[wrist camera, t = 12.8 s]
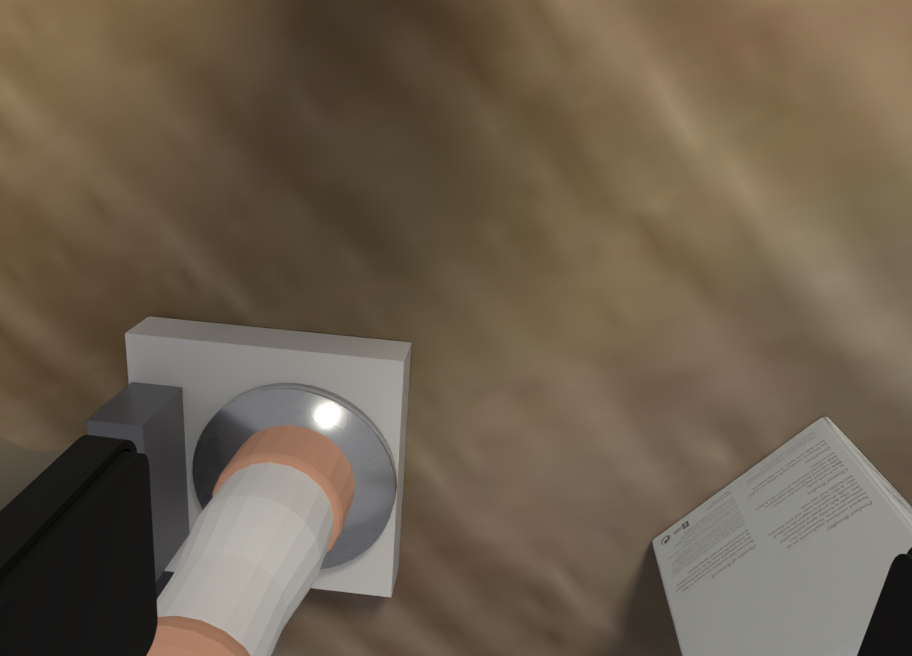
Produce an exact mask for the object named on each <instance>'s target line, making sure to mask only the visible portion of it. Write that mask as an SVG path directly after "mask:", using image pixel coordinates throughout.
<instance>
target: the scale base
mask: <svg viewBox="0 0 912 656" xmlns="http://www.w3.org/2000/svg"><path fill="white" fill-rule="evenodd" d="M125 341H126V354H127V368H128V381H129V385H128V386H126V387H125V388H124V389H123V390H122V391H121V392H119V393H118V394H117V395H116V396H115V397H113V398H112V399H111V400H110V401H109V402H107V403H106V404H105V405H104V406H103V407H101V408H100V409H99V410H98V411H97V412H96V413H94V414H93V415H92V416H91V417H90V418H88V419H87V420H86V422H87V433H88V435H95V436H103V437H110V438H118V439H126V440H131V441H132V442H133V443H134V444H135V446H136V448H137V453H144V454H145V455H146V456H147V458H148V461H149V471H150V489H151V507H152V525H153V542H154V560H155V578H156V581H157V580H158V579H159V577H160V575H161V574H162V573H163V571H171V572H175V570H176V567H177V565H178V562H179V560H180V557H181V555H182V553H183V550H184V548H185V545H186V543H187V540H188V538H189V535H190V533H191V531H192V529H193V526H194V524H195V522H196V520H197V518H198V516H199V515H200V513H201V512H202V511H203V509H202V508H201V505H200V503H199V500H198V498H197V495H196V491H195V487H194V482H193V474H192V470H193V457H194V451H195V448H196V445H197V442H198V439H199V437H200V435H201V433H202V432H203V430H204V428H205V427H206V425H207V424H208V423H209V421H210V420H211V419H212V418H213V416H214V415H215V414H216V413H217V412H218V411H219V410H220V409H221V408H222V407H223V406H224V405H225V404H226V403H227V402H229V401H230V400H232V399H233V398H234V397H236V396H238V395H240V394H241V393H243V392H245V391H247V390H250V389H253V388H256V387H259V386H263V385H268V384H275V383H299V384H305V385H311V386H315V387H318V388H322V389H325V390H327V391H330V392H332V393H335V394H337V395H339V396H341V397H342V398H344V399H346V400H348V401H350V402H351V403H352V404H354V405H355V406H356V407H358V408H359V409H360V410H362V411H363V412H364V413H365V414H366V415H367V416H368V417H369V418H370V419H371V420H372V421H373V422H374V424H375V425H376V426H377V427H378V428H379V430H380V431H381V433H382V434H383V436H384V438H385V439H386V441H387V443H388V445H389V447H390V449H391V452H392V455H393V458H394V461H395V466H396V472H397V492H396V499H395V502H394V506H393V509H392V512H391V516H390V519H389V521H388V523H387V525H386V527H385V529H384V531H383V532H382V534H381V535H380V537H379V538H378V539H377V540H376V541H375V542H374V544H373V545H372V546H371V547H370V548H368V549H367V550H366V551H365V552H363V553H362V554H361V555H359V556H357V557H356V558H354V559H352V560H350V561H348V562H346V563H344V564H341V565H338V566H335V567H331V568H326V569H320V571H319V574H318V576H317V577H316V579H315V581H314V583H313V585H312V586H311V588H315V589H323V590H332V591H340V592H349V593H357V594H366V595H374V596H383V597H391V596H392V592H393V588H394V584H395V580H396V576H397V572H398V568H399V551H400V533H401V516H402V499H403V482H404V464H405V447H406V430H407V412H408V395H409V378H410V361H411V343H412V342H402V341H392V340H382V339H372V338H362V337H352V336H341V335H331V334H321V333H311V332H301V331H291V330H281V329H271V328H261V327H251V326H241V325H231V324H221V323H211V322H201V321H191V320H180V319H170V318H160V317H150V316H149V317H147V318H146V319H144V320H143V321H142V322H140V323H139V324H137V325H136V326H134V327H133V328H132V329H130V330H129V331H127V332H126V333H125Z"/></svg>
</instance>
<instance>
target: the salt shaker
mask: <svg viewBox="0 0 912 656" xmlns="http://www.w3.org/2000/svg"><path fill="white" fill-rule="evenodd" d="M354 491H355V480H354V476H353V471H352V467H351V465H350V463H349V462H348V460H347V458H346V457H345V455H344V453H343V452H342V450H341V449H340V448H338V447H337V446H336V445H335V444H334V443H333V442H332V441H331V440H330V439H328V438H327V437H325V436H323V435H321V434H319V433H317V432H315V431H313V430H311V429H309V428H304V427H299V426H293V425H282V426H273V427H268V428H266V429H264V430H262V431H259V432H257V433H255V434H253V435H252V436H251V437H250V438H249V439H248V440H247V441H246V442H245V443H244V444H243V445H242V446H241V447H240V448H239V450H238V451H237V452H236V454H235V455H234V456H233V458H232V459H231V461H230V462H229V463H228V465H227V466H226V468H225V469H224V470H223V472H222V473H221V475H220V476H219V479H218V481H217V483H216V485H215V487H214V489H213V494H212V499H211V500H210V502H209V503H208V504H207V506H206V507H205V508H204V510H203V511H202V512H201V513H200V515H199V516H198V518H197V520H196V522H195V524H194V526H193V529H192V531H191V533H190V535H189V538H188V540H187V543H186V545H185V548H184V550H183V553H182V555H181V557H180V560H179V562H178V565H177V567H176V570H175V572H174V575H173V576H172V578H171V579H170V581H169V582H168V584H167V585H166V587H165V588H164V590H163V591H162V593H161V594H160V596H159V597H158V599H157V614H158V624H157V630H156V634H155V638H154V641H153V644H152V646H151V648H150V650H149V652H148V654H147V655H146V656H271V655H272V652H273V650H274V648H275V645H276V643H277V641H278V638H279V636H280V634H281V632H282V629H283V628H284V626H285V625H286V624H287V622H288V621H289V619H290V618H291V616H292V615H293V613H294V612H295V610H296V609H297V607H298V606H299V605H300V603H301V602H302V600H303V599H304V597H305V596H306V594H307V593H308V591H309V590H310V588H311V586H312V585H313V583H314V581H315V579H316V577H317V576H318V574H319V571H320V568H321V565H322V562H323V559H324V556H325V554H326V553H328V552H329V551H330V550H331V549H332V548H333V546H334V544H335V543H336V541H337V539H338V537H339V535H340V534H341V531H342V529H343V526H344V523H345V521H346V518H347V515H348V513H349V510H350V508H351V505H352V502H353V498H354Z"/></svg>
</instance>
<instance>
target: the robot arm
mask: <svg viewBox="0 0 912 656" xmlns="http://www.w3.org/2000/svg"><path fill="white" fill-rule="evenodd" d="M157 624H158V614H157V597H156V578H155V560H154V542H153V525H152V507H151V489H150V471H149V461H148V458H147V456H146V455H145V454H144V453H137V448H136V446H135V444H134V443H133V442H132V441H131V440H126V439H118V438H110V437H103V436H95V435H84V436H82V437H81V438H79V439H78V440H77V441H76V442H75V443H73V444H72V445H71V446H70V447H69V448H68V449H67V450H66V451H65V452H64V453H63V454H62V455H61V456H60V457H58V458H57V459H56V460H55V461H54V462H53V463H52V464H51V465H50V466H49V467H48V468H47V469H46V470H44V471H43V472H42V473H41V474H40V475H39V476H38V477H37V478H36V479H35V480H34V481H33V482H32V483H31V484H29V485H28V486H27V487H26V488H25V489H24V490H23V491H22V492H21V493H20V494H19V495H18V496H16V497H15V498H14V499H13V500H12V501H11V502H10V503H9V504H8V505H7V506H6V507H5V508H4V509H2V510H1V511H0V656H146V655H147V654H148V652H149V650H150V648H151V646H152V644H153V641H154V638H155V634H156V630H157ZM857 656H912V547H911V548H910V549H909V550H908V552H907V554H899V555H897V556H896V557H895V558H894V560H893V562H892V564H891V566H890V569H889V571H888V574H887V577H886V579H885V582H884V585H883V587H882V590H881V593H880V595H879V598H878V601H877V603H876V606H875V609H874V612H873V614H872V617H871V620H870V622H869V625H868V628H867V630H866V633H865V636H864V638H863V641H862V644H861V646H860V649H859V652H858V654H857Z"/></svg>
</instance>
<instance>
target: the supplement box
mask: <svg viewBox="0 0 912 656" xmlns="http://www.w3.org/2000/svg"><path fill="white" fill-rule="evenodd" d="M652 544H653V549H654V552H655V556H656V560H657V564H658V567H659V571H660V574H661V578H662V582H663V586H664V590H665V594H666V598H667V601H668V605H669V609H670V612H671V616H672V620H673V623H674V627H675V631H676V635H677V639H678V642H679V646H680V650H681V654H682V656H857V654H858V652H859V649H860V646H861V644H862V641H863V638H864V636H865V633H866V630H867V628H868V625H869V622H870V620H871V617H872V614H873V612H874V609H875V606H876V603H877V601H878V598H879V595H880V593H881V590H882V587H883V585H884V582H885V579H886V577H887V574H888V571H889V569H890V566H891V564H892V562H893V560H894V558H895V557H896V556H897V555H899V554H907V552H908V550H909V549H910V548H911V547H912V507H911V506H910V505H909V504H908V503H907V502H906V500H905V499H904V498H903V497H902V496H901V495H900V494H899V493H898V492H897V491H896V490H895V489H894V488H893V486H892V485H891V484H890V483H889V482H888V481H887V480H886V479H885V478H884V477H883V476H882V475H881V474H880V472H879V471H878V470H877V469H876V468H875V467H874V466H873V465H872V464H871V463H870V462H869V461H868V460H867V458H866V457H865V456H864V455H863V454H862V453H861V452H860V451H859V450H858V449H857V448H856V447H855V445H854V444H853V443H852V442H851V441H850V440H849V439H848V438H847V437H846V436H845V435H844V434H843V433H842V432H841V431H840V429H839V428H838V427H837V426H836V425H835V424H834V423H833V422H832V421H831V420H830V419H829V418H828V417H823V418H820V419H818V420H817V421H816V422H814V423H813V424H811V425H810V426H808V427H807V428H806V429H804V430H803V431H802V432H800V433H799V434H797V435H796V436H795V437H793V438H792V439H791V440H789V441H788V442H787V443H785V444H784V445H782V446H781V447H780V448H778V449H777V450H776V451H774V452H773V453H772V454H770V455H769V456H767V457H766V458H765V459H763V460H762V461H760V462H759V463H758V464H756V465H755V466H753V467H752V468H751V469H749V470H748V471H747V472H746V473H744V474H743V475H741V476H740V477H738V478H737V479H736V480H734V481H733V482H731V483H730V484H729V485H727V486H726V487H725V488H723V489H722V490H721V491H719V492H718V493H716V494H715V495H714V496H712V497H711V498H710V499H708V500H707V501H705V502H704V503H703V504H701V505H700V506H699V507H697V508H696V509H694V510H693V511H692V512H690V513H689V514H688V515H686V516H685V517H683V518H682V519H681V520H679V521H678V522H677V523H675V524H674V525H672V526H671V527H670V528H668V529H667V530H666V531H664V532H663V533H662V534H660V535H659V536H657V537H656V538H655V539H654V540H653V541H652Z"/></svg>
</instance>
